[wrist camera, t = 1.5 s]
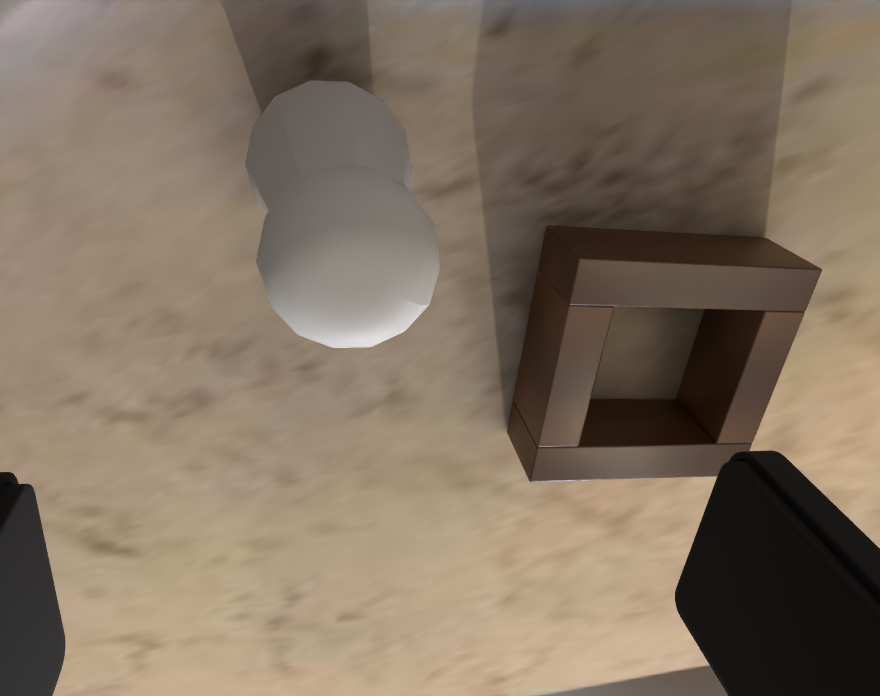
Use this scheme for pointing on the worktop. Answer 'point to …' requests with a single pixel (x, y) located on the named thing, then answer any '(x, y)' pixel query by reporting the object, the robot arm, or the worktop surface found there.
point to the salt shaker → (340, 216)
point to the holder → (708, 370)
